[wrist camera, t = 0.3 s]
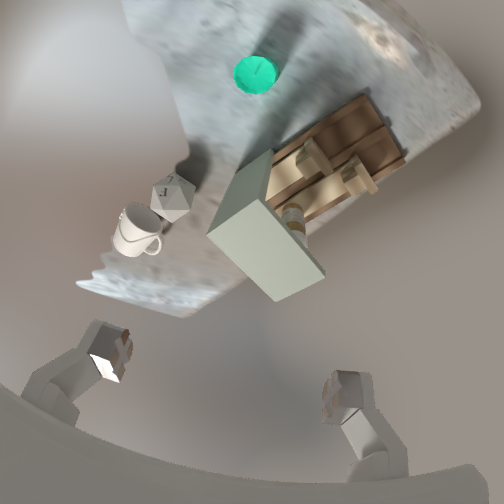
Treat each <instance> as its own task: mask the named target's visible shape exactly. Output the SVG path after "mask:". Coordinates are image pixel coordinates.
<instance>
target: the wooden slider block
mask: <svg viewBox="0 0 504 504" xmlns="http://www.w3.org/2000/svg"><path fill="white" fill-rule="evenodd" d="M319 171H322V172H323V174H324V175H325V176H326V177H327V176H329V175H330V174H332V173H333V172H334V171H333V168H332V165H331V162H330V161H329V160H328V158H327V157H326V156H325V154H324V153H323V151H322V150H321V149H320V147H319V146H318V145H317V143H316V142H315V141H314V139H313V138H312V137H310V138H309V139H307V140H306V141H304V145H303V146H301V147H300V148H298V149H297V150H295V151H294V152H292V153H291V154H289V155H288V156H286V157H285V158H284V159H282V160H281V161H279V162H278V163H276V164H275V165H274V166H272V169H271V174H270V179H269V184H268V189H267V194H266V199H265V201H267V200H269V199H270V198H272V197H273V196H275V195H276V194H278V193H279V192H281V191H282V190H284V189H285V188H287V187H288V186H290V185H291V184H293V183H294V182H296V181H297V180H299V179H300V178H302V177H303V176H304V177H305V179H306V180H307V179H308V178H310V177H311V176H313V175H314V174H316V173H318V172H319Z"/></svg>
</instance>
